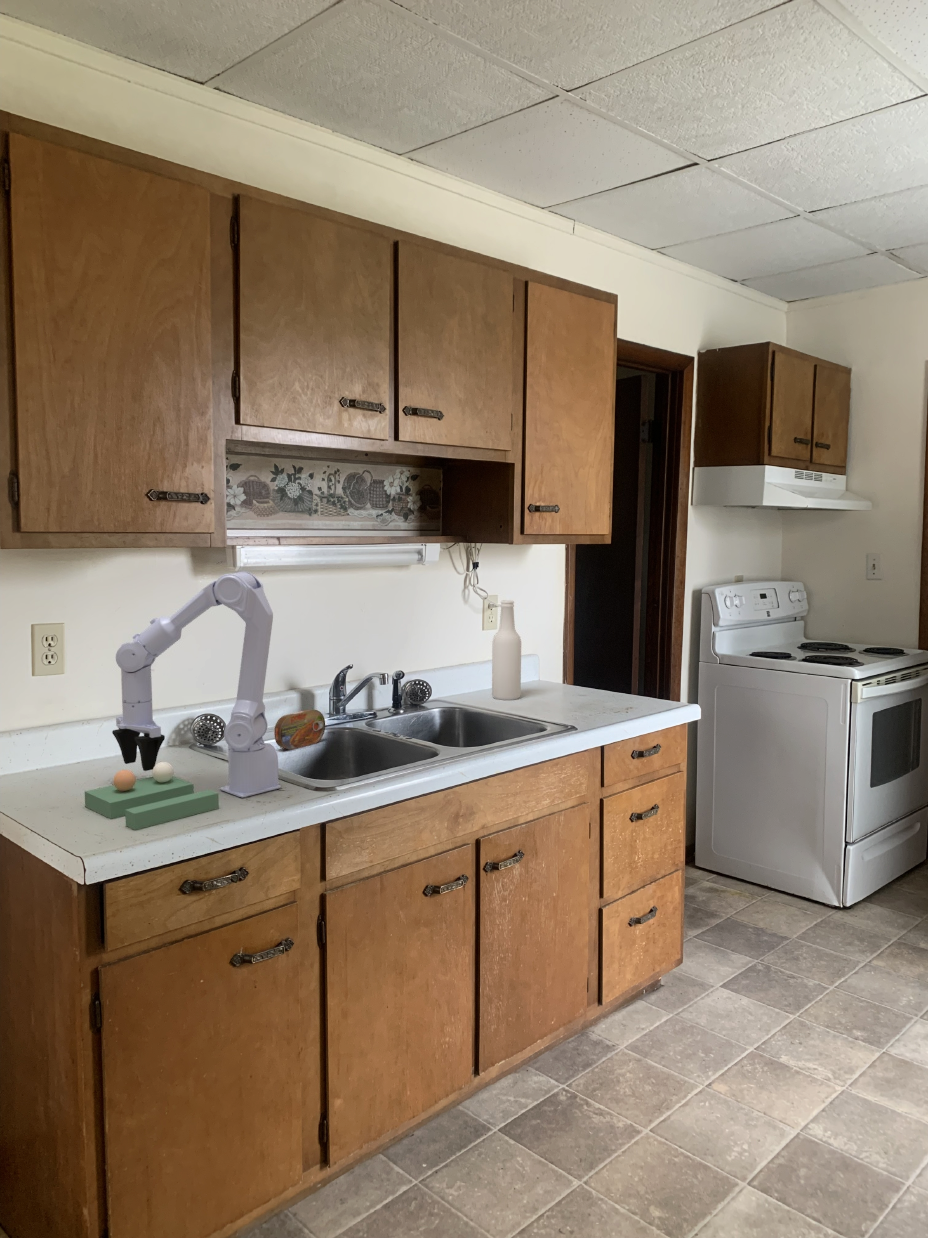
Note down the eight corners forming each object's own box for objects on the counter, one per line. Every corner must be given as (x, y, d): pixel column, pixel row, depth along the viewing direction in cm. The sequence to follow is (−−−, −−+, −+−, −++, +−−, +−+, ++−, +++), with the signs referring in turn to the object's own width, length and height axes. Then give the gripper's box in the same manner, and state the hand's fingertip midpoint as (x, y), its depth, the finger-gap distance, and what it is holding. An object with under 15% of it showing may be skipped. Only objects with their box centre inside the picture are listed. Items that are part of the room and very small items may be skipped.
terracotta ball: (129, 786, 179) (128, 766, 179) (139, 790, 177) (139, 770, 176) (109, 790, 176) (109, 770, 176) (120, 795, 174) (119, 774, 173)
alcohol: (526, 698, 284) (527, 601, 281) (501, 701, 280) (503, 602, 276) (510, 694, 292) (511, 599, 288) (486, 696, 287) (487, 600, 284)
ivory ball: (167, 778, 185) (166, 758, 185) (177, 782, 183) (177, 762, 182) (148, 782, 182) (148, 762, 182) (159, 786, 180) (158, 766, 179)
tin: (281, 753, 217) (280, 718, 216) (272, 751, 219) (271, 716, 218) (326, 741, 230) (326, 707, 229) (317, 739, 231) (317, 705, 230)
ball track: (166, 788, 189) (166, 773, 188) (218, 808, 176) (218, 793, 176) (85, 806, 176) (84, 791, 176) (134, 830, 163) (134, 813, 163)
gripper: (101, 698, 189) (103, 763, 191) (136, 708, 179) (138, 777, 181) (133, 693, 194) (135, 757, 196) (169, 703, 184) (171, 770, 186)
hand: (139, 766), depth 189 cm, fingers open, 7 cm apart
